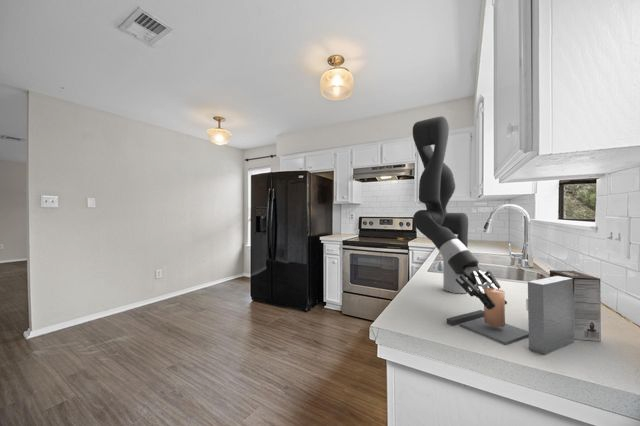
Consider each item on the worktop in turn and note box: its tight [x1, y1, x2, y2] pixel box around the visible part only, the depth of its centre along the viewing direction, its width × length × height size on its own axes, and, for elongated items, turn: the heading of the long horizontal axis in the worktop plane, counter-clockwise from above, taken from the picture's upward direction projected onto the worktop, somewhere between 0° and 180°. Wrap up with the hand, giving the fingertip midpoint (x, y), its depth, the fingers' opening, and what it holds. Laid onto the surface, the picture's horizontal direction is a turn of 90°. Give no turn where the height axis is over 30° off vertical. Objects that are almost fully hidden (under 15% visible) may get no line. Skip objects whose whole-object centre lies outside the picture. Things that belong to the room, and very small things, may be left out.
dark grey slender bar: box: [446, 309, 484, 327], centre depth 77 cm, size 16×2×2 cm, turn 115°
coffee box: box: [549, 269, 602, 342], centre depth 68 cm, size 9×6×16 cm
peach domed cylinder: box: [483, 287, 506, 327], centre depth 70 cm, size 5×5×9 cm
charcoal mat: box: [459, 317, 529, 346], centre depth 70 cm, size 12×12×1 cm
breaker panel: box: [525, 276, 575, 356], centre depth 62 cm, size 14×4×16 cm, turn 115°
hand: (498, 306), depth 69 cm, fingers closed on peach domed cylinder, 4 cm apart
